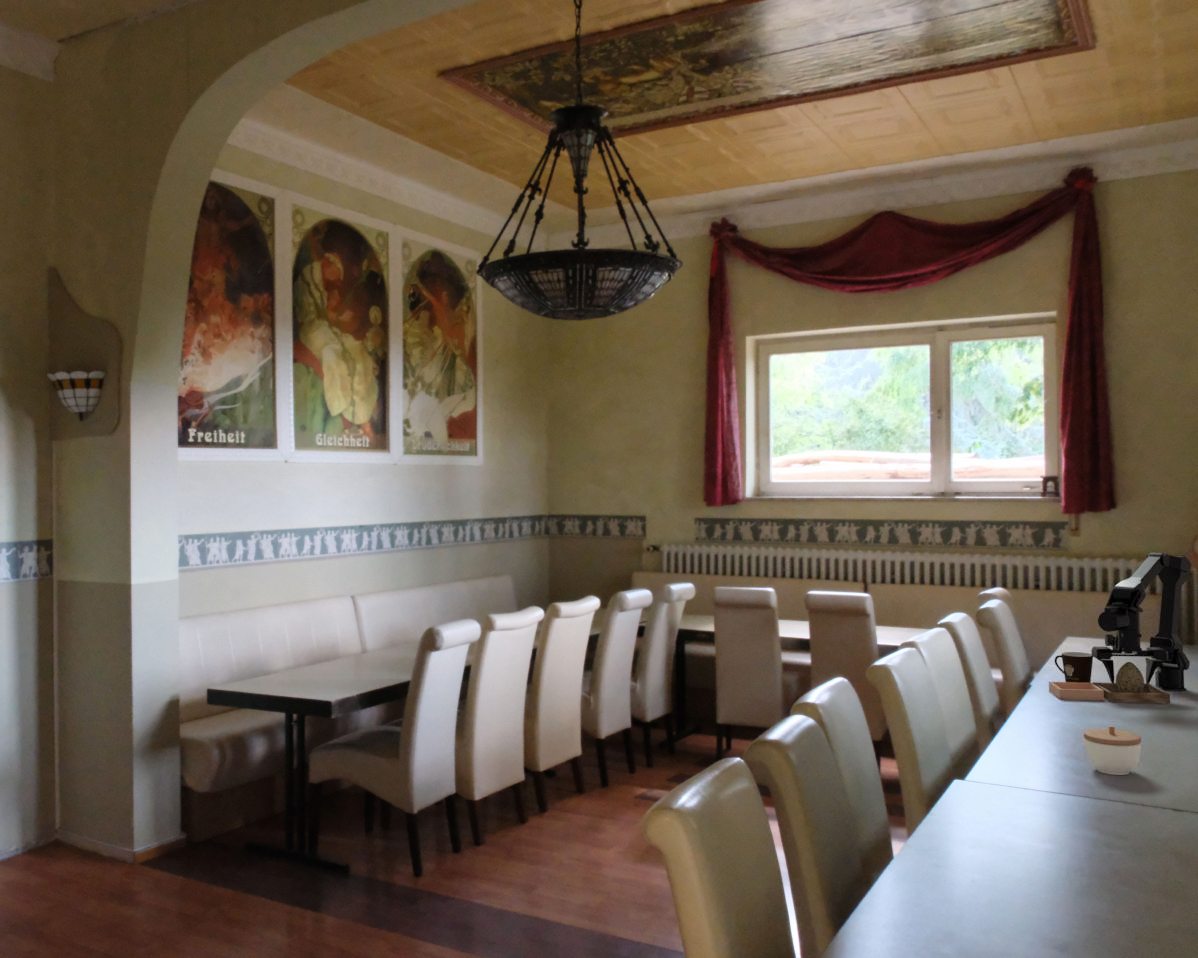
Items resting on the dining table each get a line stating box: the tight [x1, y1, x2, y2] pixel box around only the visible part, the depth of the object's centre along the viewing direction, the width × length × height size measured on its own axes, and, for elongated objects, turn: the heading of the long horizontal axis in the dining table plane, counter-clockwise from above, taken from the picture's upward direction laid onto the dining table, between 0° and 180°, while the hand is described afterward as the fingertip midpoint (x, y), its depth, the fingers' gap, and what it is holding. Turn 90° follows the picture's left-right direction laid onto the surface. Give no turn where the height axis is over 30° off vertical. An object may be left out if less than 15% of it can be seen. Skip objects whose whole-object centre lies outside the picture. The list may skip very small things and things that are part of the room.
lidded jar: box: [1083, 725, 1142, 776], centre depth 205 cm, size 11×11×9 cm
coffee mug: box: [1054, 651, 1094, 683], centre depth 294 cm, size 12×9×10 cm
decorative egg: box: [1115, 661, 1145, 693], centre depth 278 cm, size 7×7×10 cm
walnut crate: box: [1091, 681, 1171, 704], centre depth 278 cm, size 16×16×2 cm
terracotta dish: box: [1048, 681, 1105, 701], centre depth 281 cm, size 12×12×3 cm
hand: (1130, 683), depth 278 cm, fingers open, 9 cm apart
